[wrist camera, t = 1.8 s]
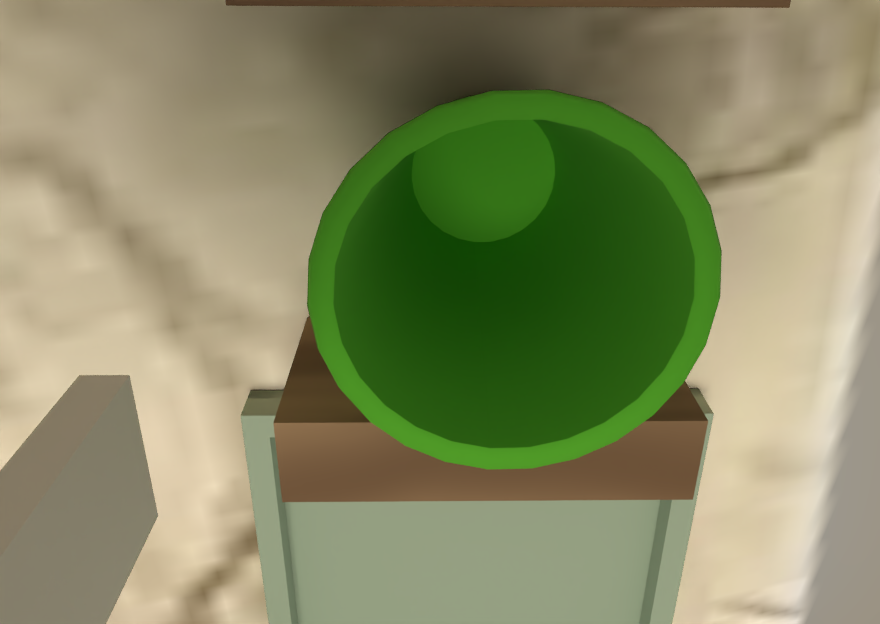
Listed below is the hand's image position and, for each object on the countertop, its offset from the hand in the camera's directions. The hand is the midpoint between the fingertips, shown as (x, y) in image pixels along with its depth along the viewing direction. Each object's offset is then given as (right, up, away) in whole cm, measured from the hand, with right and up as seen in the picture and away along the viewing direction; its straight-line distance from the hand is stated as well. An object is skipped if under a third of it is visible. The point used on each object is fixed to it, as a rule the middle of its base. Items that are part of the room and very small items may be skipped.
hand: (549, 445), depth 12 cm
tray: (0, -8, +22) cm, 23 cm away
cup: (0, +7, +14) cm, 16 cm away
